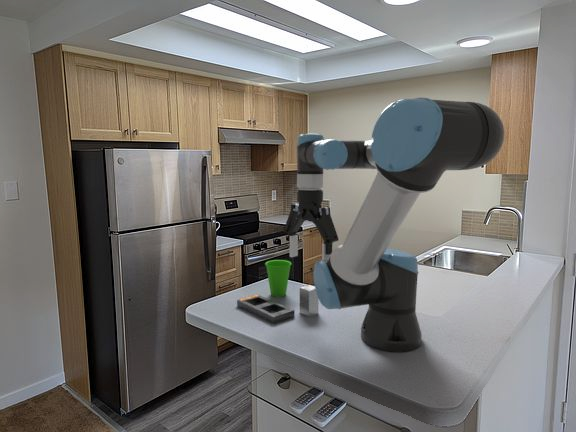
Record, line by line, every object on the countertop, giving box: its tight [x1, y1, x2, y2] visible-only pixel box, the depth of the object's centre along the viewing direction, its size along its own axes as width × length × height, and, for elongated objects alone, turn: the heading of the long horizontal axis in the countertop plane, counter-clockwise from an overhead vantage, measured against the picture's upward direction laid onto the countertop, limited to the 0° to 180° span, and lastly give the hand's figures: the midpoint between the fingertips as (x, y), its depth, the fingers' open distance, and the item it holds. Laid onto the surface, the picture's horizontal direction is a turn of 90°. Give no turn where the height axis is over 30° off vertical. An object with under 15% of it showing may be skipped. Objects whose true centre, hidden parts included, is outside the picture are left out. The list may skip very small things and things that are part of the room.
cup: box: [264, 259, 293, 298], centre depth 134 cm, size 9×9×11 cm
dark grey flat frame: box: [236, 294, 295, 325], centre depth 120 cm, size 18×8×2 cm, turn 42°
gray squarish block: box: [299, 284, 320, 318], centre depth 118 cm, size 4×4×8 cm
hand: (309, 260), depth 116 cm, fingers open, 13 cm apart
